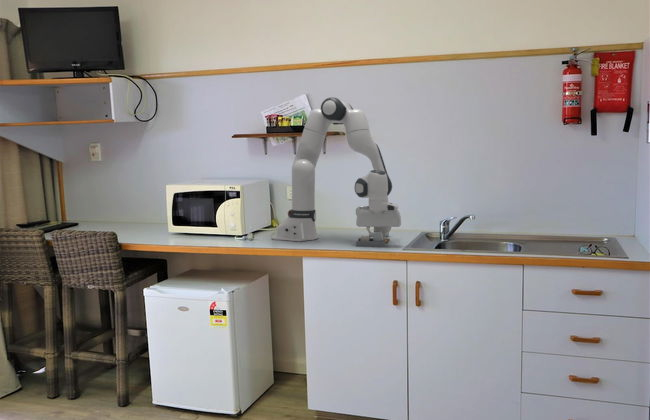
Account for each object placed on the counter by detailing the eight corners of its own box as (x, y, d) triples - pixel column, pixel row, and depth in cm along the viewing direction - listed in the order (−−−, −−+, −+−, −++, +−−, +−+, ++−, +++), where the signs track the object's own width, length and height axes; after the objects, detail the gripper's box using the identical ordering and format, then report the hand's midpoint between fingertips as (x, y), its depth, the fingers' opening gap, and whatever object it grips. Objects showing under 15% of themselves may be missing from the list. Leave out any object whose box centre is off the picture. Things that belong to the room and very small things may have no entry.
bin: (356, 247, 280) (356, 240, 280) (359, 244, 289) (359, 237, 289) (382, 248, 278) (382, 241, 278) (384, 245, 287) (384, 238, 286)
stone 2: (373, 242, 281) (371, 233, 281) (374, 241, 285) (372, 232, 285) (382, 240, 280) (380, 232, 280) (383, 239, 284) (381, 230, 284)
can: (387, 238, 304) (388, 214, 303) (372, 238, 305) (372, 214, 304) (389, 236, 311) (389, 212, 310) (374, 235, 313) (374, 212, 311)
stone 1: (360, 245, 282) (360, 236, 282) (361, 244, 286) (361, 235, 286) (369, 245, 282) (369, 237, 281) (370, 244, 286) (370, 235, 285)
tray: (357, 243, 291) (357, 241, 291) (360, 239, 301) (360, 237, 301) (387, 244, 288) (387, 242, 288) (389, 240, 299) (389, 238, 298)
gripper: (354, 207, 280) (355, 237, 281) (400, 206, 276) (400, 237, 277) (356, 205, 286) (357, 235, 287) (401, 205, 282) (401, 235, 284)
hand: (378, 236), depth 282 cm, fingers open, 6 cm apart
